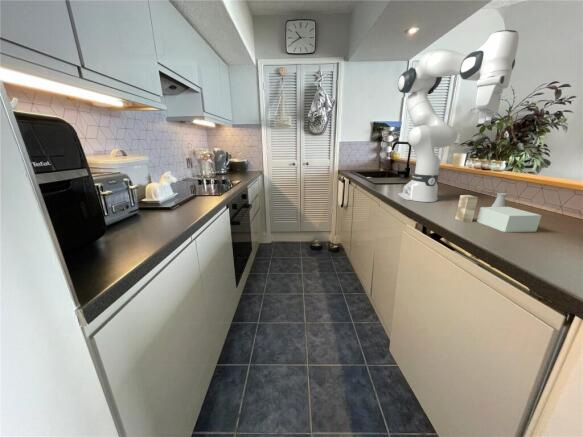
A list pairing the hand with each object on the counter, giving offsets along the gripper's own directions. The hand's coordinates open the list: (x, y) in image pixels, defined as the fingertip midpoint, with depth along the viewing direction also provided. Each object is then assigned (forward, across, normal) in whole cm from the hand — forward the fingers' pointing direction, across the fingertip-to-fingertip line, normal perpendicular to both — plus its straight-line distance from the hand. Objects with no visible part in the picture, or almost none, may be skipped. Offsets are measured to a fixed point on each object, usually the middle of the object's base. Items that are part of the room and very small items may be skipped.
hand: (484, 124), depth 89 cm
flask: (+37, -14, +9) cm, 40 cm away
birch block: (+37, +4, +1) cm, 37 cm away
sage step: (+37, +2, +14) cm, 39 cm away
